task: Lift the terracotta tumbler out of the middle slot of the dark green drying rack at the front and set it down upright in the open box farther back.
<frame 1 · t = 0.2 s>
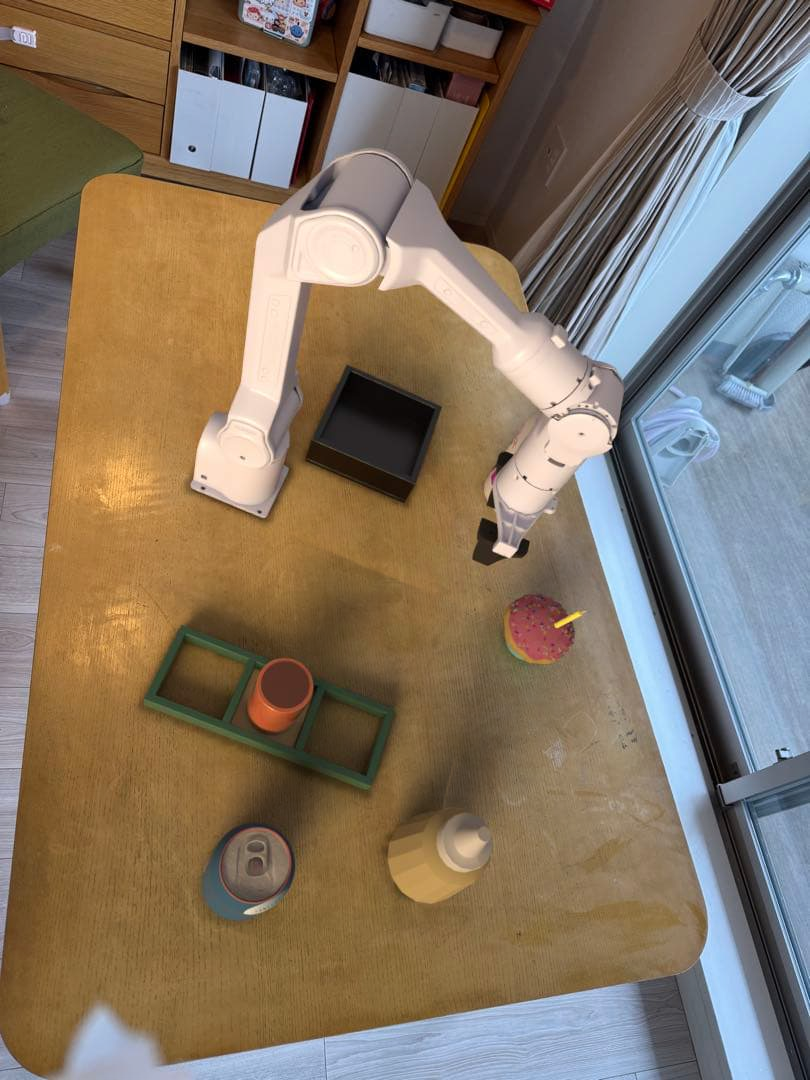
hand: (488, 532, 87), 10 cm above the table, tool pointing down, fingers open, 7 cm apart
squeeze bottle: (415, 862, 77), on the table
tumbler: (272, 709, 80), point 1 cm above the table, touching rack
soda can: (238, 880, 72), on the table
rack: (271, 711, 80), on the table
open box: (370, 443, 101), on the table
cupcake: (521, 643, 93), on the table
supplement can: (509, 498, 104), on the table
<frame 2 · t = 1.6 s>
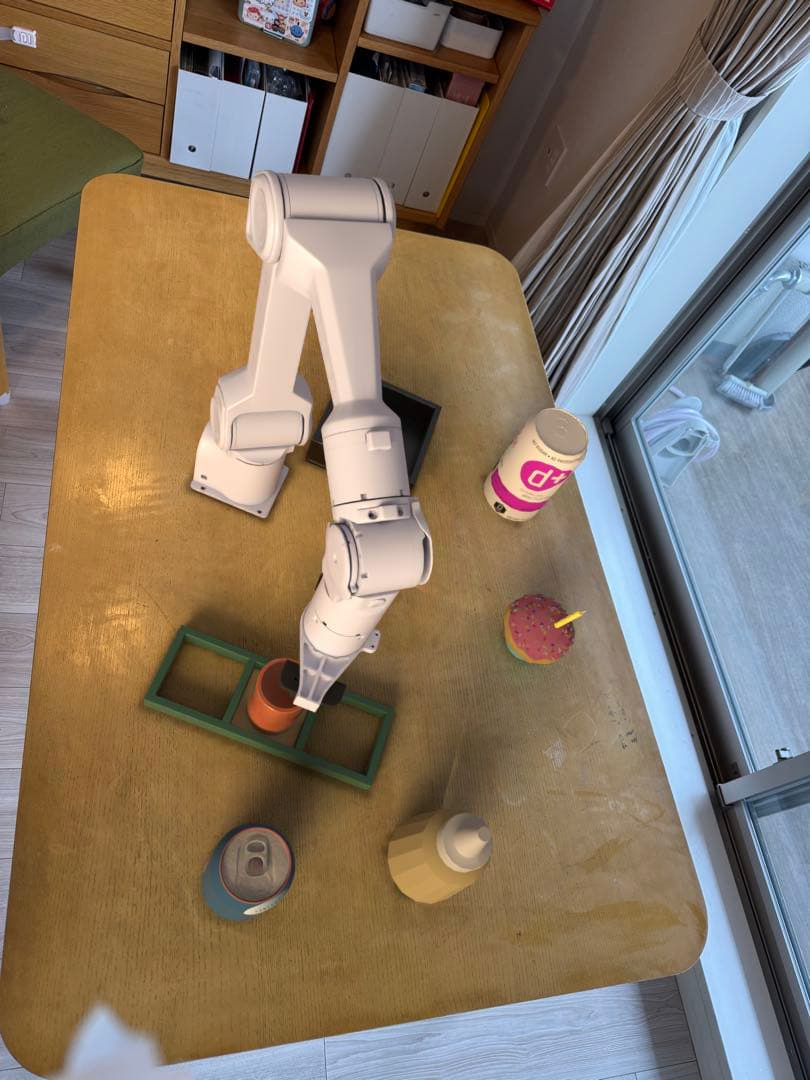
hand: (315, 661, 74), 10 cm above the table, tool pointing down, fingers open, 7 cm apart
nothing on the table moved.
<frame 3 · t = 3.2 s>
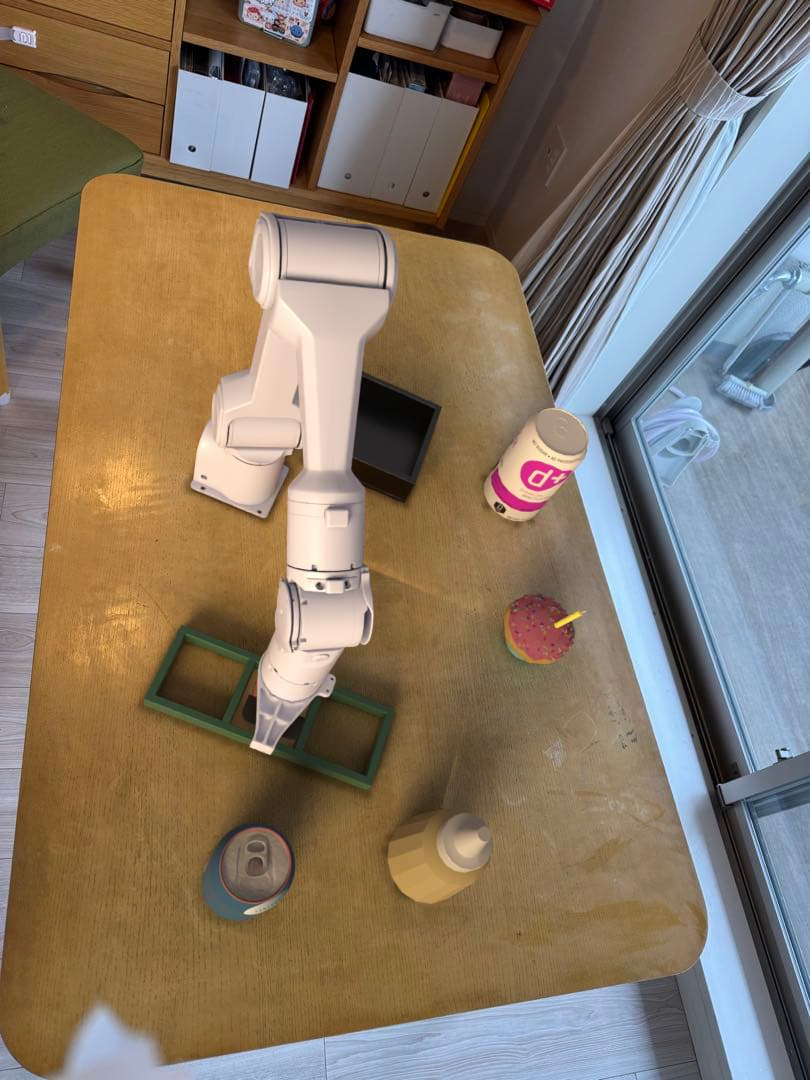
hand: (276, 701, 77), 4 cm above the table, tool pointing down, fingers closed on tumbler, 5 cm apart
tumbler: (272, 709, 80), point 1 cm above the table, touching gripper, rack
everything else where it was.
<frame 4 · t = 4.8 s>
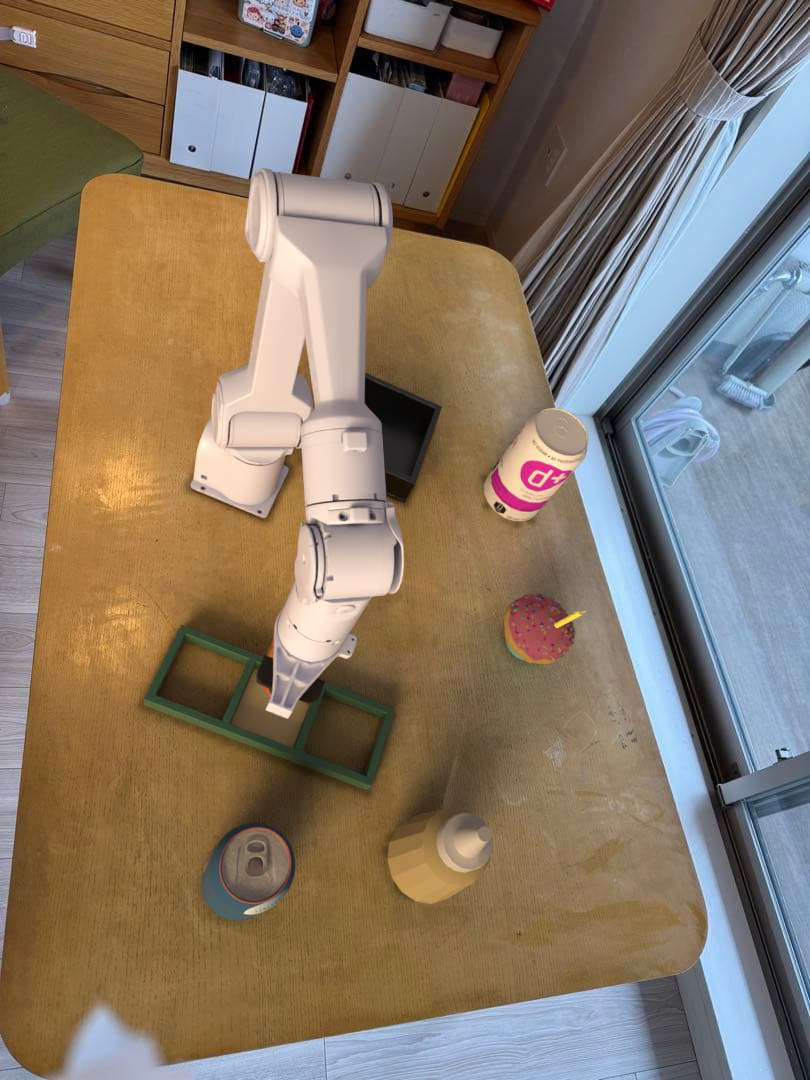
hand: (292, 666, 73), 10 cm above the table, tool pointing down, fingers closed on tumbler, 5 cm apart
tumbler: (287, 675, 75), point 7 cm above the table, touching gripper
everything else where it was.
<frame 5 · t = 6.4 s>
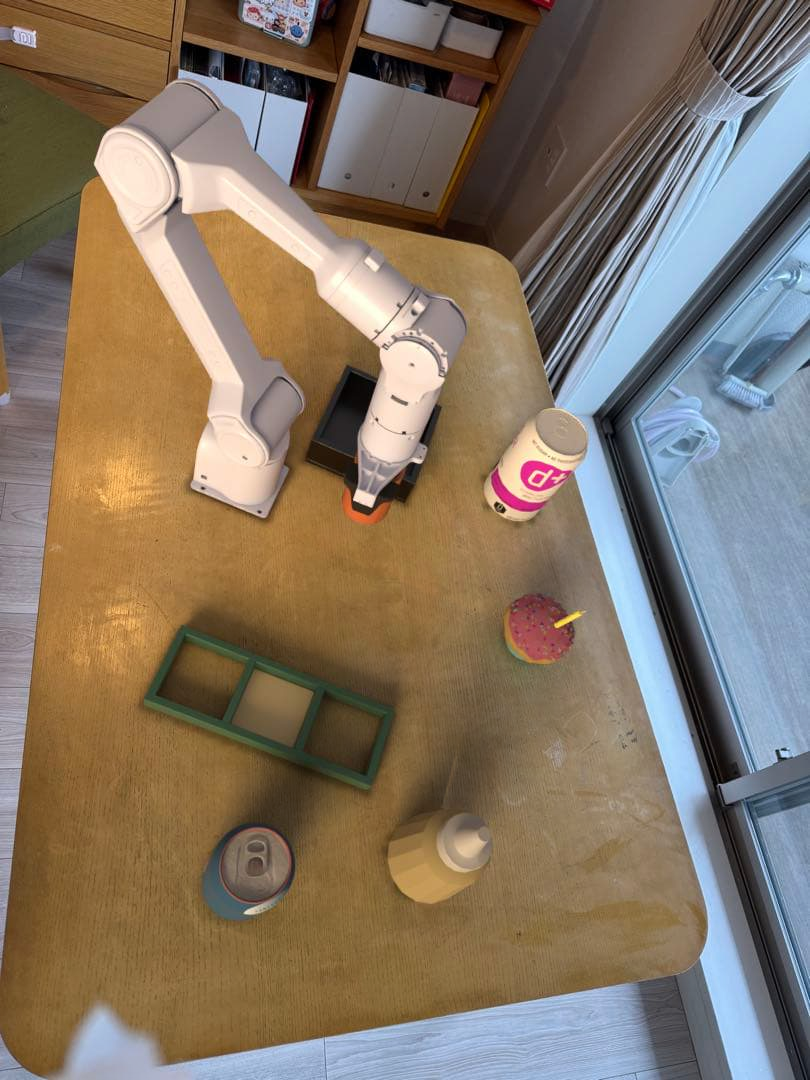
hand: (369, 490, 85), 10 cm above the table, tool pointing down, fingers closed on tumbler, 5 cm apart
tumbler: (365, 504, 87), point 8 cm above the table, touching gripper
everything else where it was.
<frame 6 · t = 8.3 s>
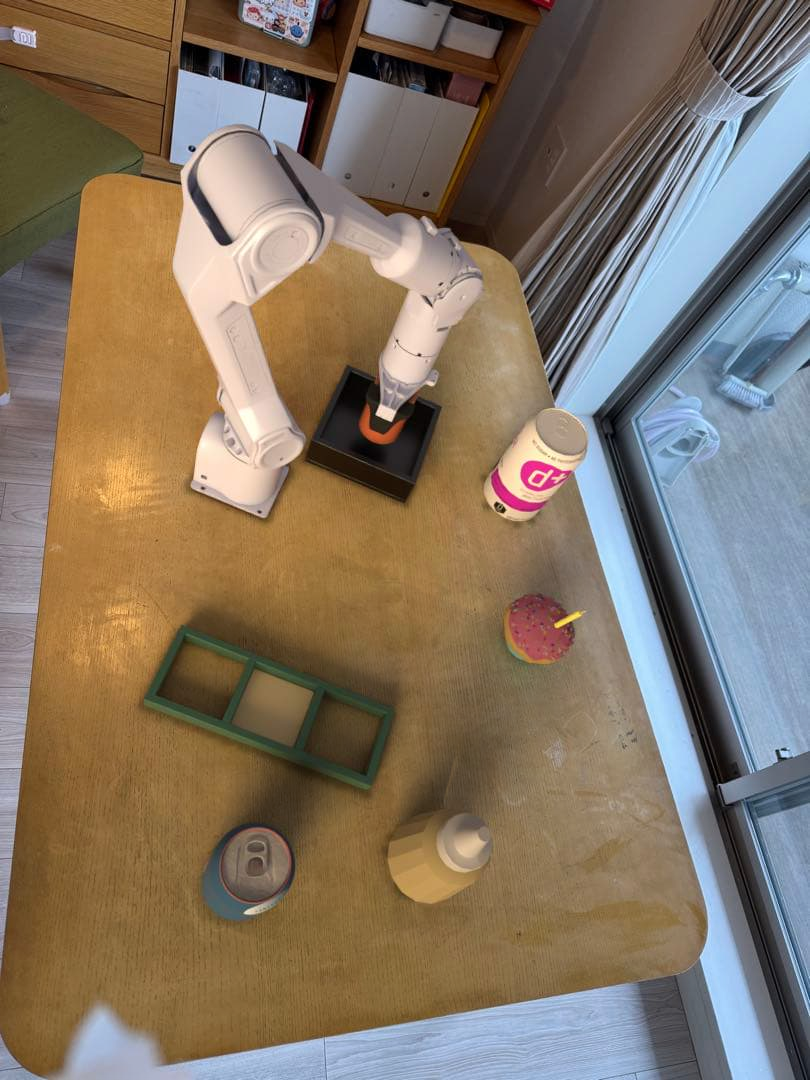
hand: (384, 413, 96), 6 cm above the table, tool pointing down, fingers closed on tumbler, 5 cm apart
tumbler: (379, 427, 98), point 4 cm above the table, touching gripper
everything else where it was.
when the fingers open (3 cm above the table, at t = 9.8 s): tumbler stays where it is, resting on open box.
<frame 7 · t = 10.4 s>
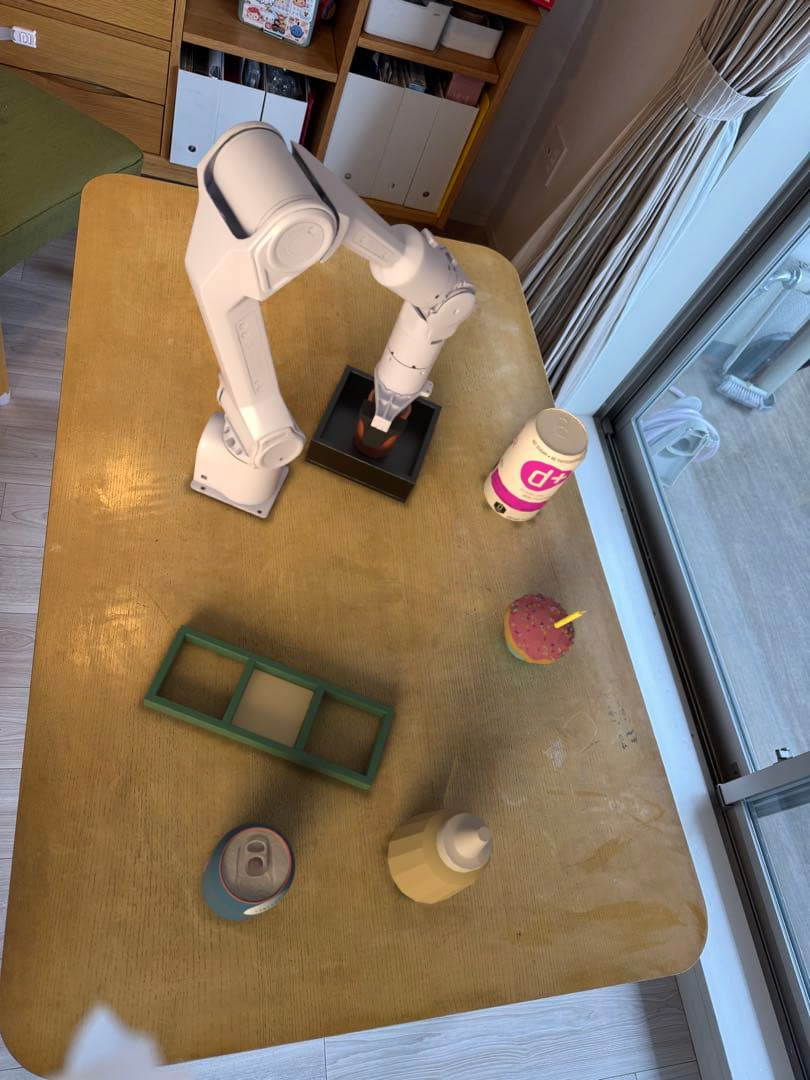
hand: (379, 422, 97), 5 cm above the table, tool pointing down, fingers open, 7 cm apart
tumbler: (373, 440, 100), point 1 cm above the table, touching open box
everything else where it was.
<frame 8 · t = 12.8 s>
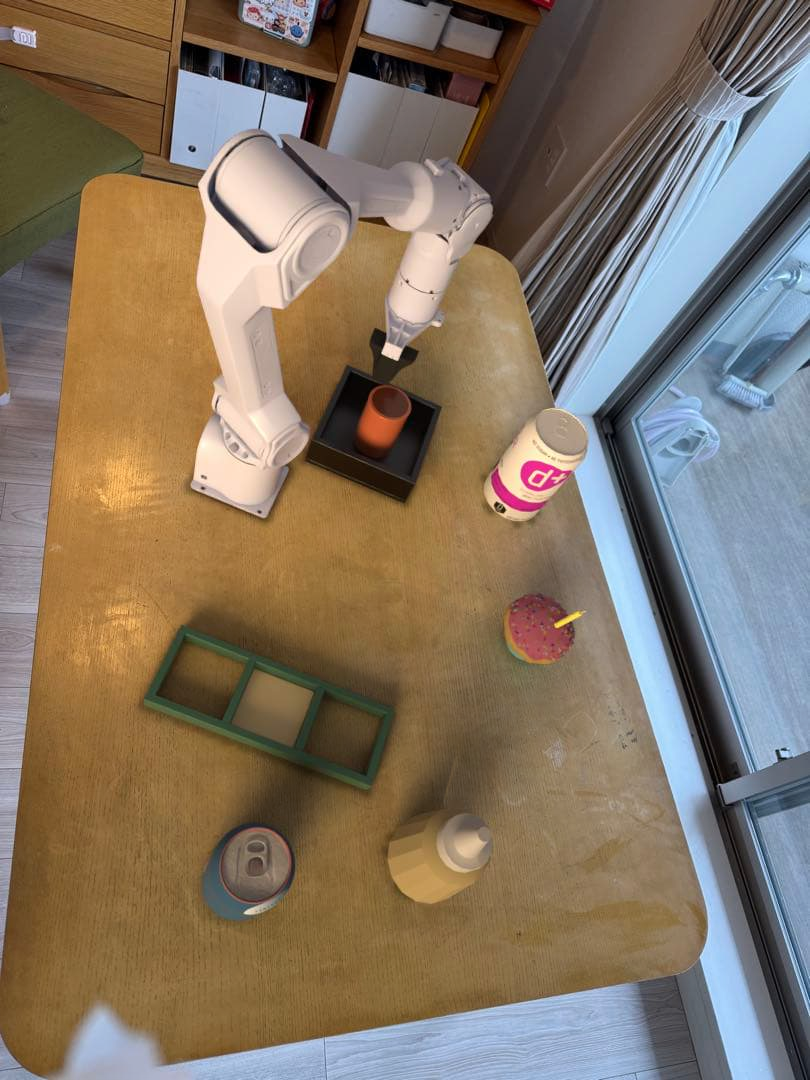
hand: (389, 358, 95), 10 cm above the table, tool pointing down, fingers open, 7 cm apart
nothing on the table moved.
at the end: tumbler inside the target area in the open box (0.2 cm from its centre), point 0.6 cm above the open box's base; tumbler tilted 0°; the gripper is holding nothing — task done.
